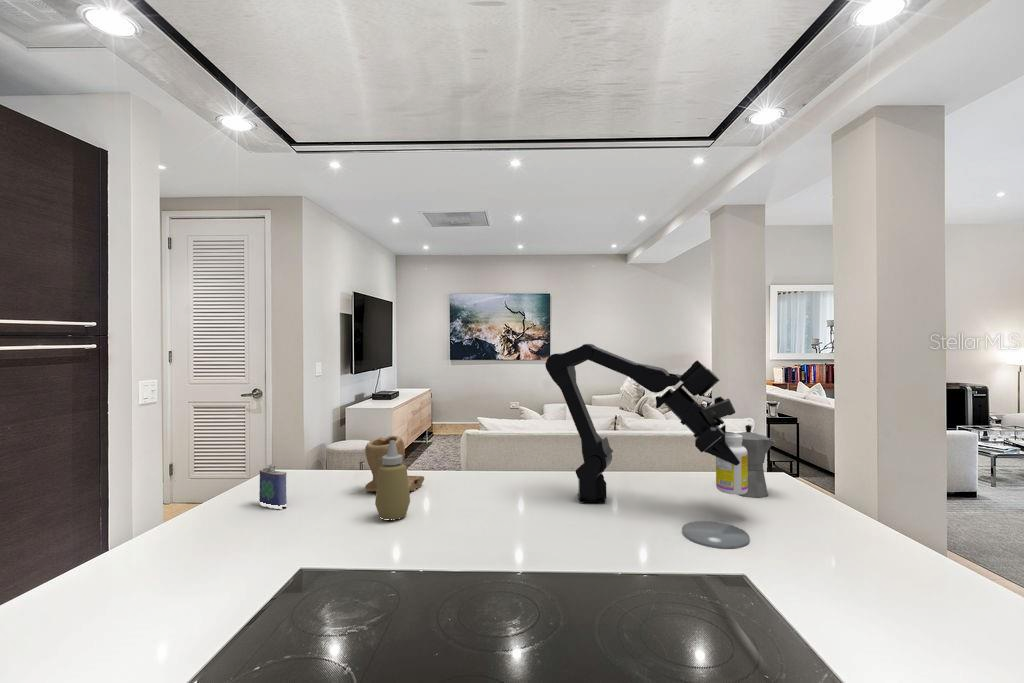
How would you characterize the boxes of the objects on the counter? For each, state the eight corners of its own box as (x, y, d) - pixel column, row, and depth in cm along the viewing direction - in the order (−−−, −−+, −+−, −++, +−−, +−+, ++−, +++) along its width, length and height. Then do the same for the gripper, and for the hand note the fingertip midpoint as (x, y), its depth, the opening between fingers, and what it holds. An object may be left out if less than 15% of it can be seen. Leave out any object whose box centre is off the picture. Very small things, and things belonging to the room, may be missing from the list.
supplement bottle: (741, 486, 113) (741, 432, 113) (752, 496, 106) (752, 438, 106) (712, 486, 114) (712, 432, 114) (721, 495, 107) (721, 437, 107)
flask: (289, 507, 120) (288, 464, 120) (278, 511, 118) (277, 467, 118) (266, 502, 125) (265, 461, 125) (255, 505, 122) (254, 463, 122)
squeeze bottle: (367, 520, 110) (367, 442, 111) (389, 509, 118) (388, 436, 118) (397, 525, 107) (396, 445, 107) (417, 513, 115) (416, 438, 115)
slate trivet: (693, 548, 94) (693, 545, 94) (674, 523, 107) (674, 520, 107) (761, 548, 93) (761, 545, 93) (733, 523, 106) (733, 520, 106)
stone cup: (357, 497, 128) (356, 441, 128) (374, 484, 140) (373, 432, 140) (412, 498, 126) (412, 441, 126) (425, 484, 138) (424, 433, 138)
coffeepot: (782, 493, 127) (781, 425, 127) (770, 502, 120) (769, 430, 120) (723, 482, 138) (722, 419, 138) (709, 489, 131) (708, 423, 131)
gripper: (711, 390, 103) (769, 446, 99) (714, 383, 120) (763, 430, 116) (673, 424, 106) (727, 479, 102) (680, 412, 123) (727, 459, 119)
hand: (738, 460), depth 109 cm, fingers closed on supplement bottle, 7 cm apart
